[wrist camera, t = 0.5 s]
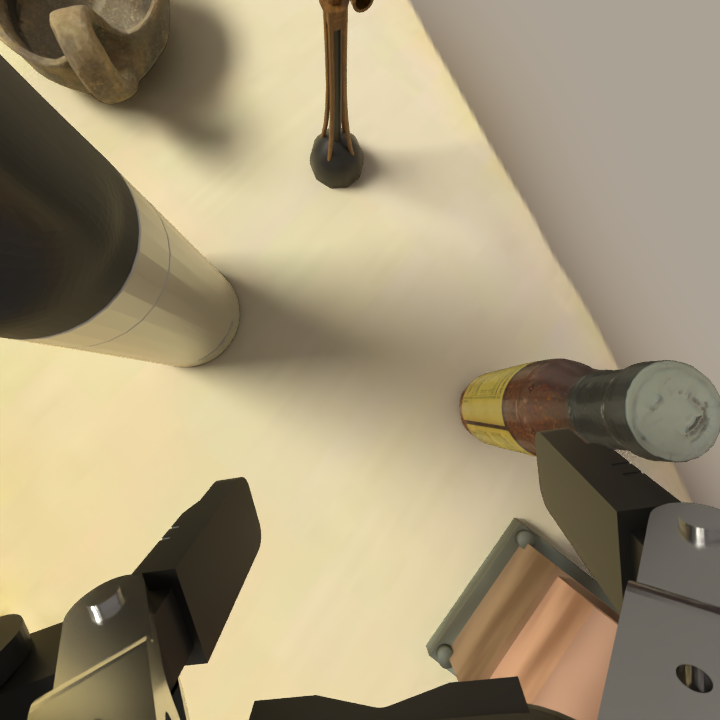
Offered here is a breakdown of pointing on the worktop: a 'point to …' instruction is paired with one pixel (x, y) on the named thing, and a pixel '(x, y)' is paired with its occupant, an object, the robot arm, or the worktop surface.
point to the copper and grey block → (532, 626)
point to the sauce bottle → (597, 407)
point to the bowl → (88, 41)
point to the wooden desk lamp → (337, 103)
